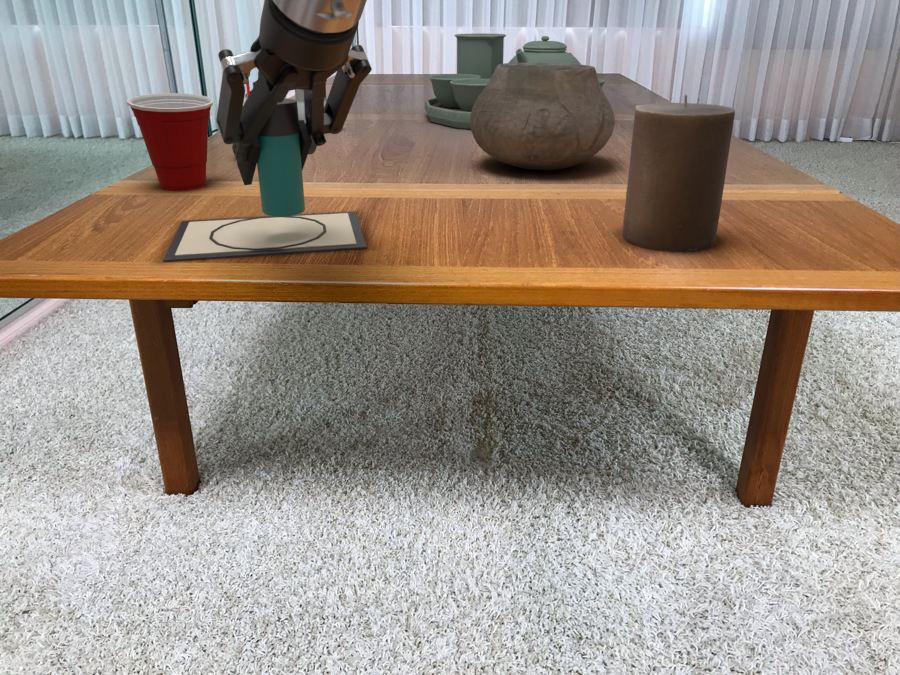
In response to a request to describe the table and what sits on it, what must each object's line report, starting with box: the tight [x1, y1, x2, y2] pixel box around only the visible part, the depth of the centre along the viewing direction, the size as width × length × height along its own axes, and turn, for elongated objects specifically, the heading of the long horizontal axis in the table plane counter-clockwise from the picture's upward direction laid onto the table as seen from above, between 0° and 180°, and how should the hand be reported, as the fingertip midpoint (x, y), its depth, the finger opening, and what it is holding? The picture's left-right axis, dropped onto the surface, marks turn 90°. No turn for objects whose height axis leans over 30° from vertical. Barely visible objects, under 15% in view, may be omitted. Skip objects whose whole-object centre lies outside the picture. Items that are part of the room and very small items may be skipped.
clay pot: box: [469, 62, 616, 172], centre depth 107 cm, size 22×21×15 cm
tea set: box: [424, 32, 606, 130], centre depth 152 cm, size 40×40×16 cm
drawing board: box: [162, 210, 368, 263], centre depth 78 cm, size 20×14×1 cm
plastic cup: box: [126, 92, 214, 192], centre depth 97 cm, size 11×11×12 cm
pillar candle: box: [622, 94, 736, 254], centre depth 74 cm, size 10×10×15 cm
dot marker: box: [256, 98, 306, 216], centre depth 73 cm, size 5×5×11 cm
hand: (268, 171), depth 77 cm, fingers closed on dot marker, 5 cm apart
